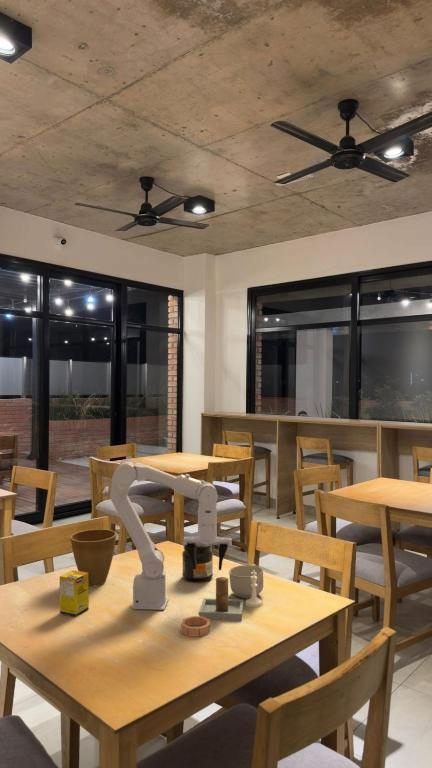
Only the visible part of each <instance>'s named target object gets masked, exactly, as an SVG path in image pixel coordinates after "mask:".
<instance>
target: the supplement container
mask: <svg viewBox="0 0 432 768" xmlns="http://www.w3.org/2000/svg"><path fill="white" fill-rule="evenodd" d="M186 547H187V545H183V550H182V554H181V556H182V574H181V575H182V578H183V579H184V581H185V580H186V581H187V582H190V583H203V582H208V581H210V580H211V579H212V578H213V575H214V572H213V569H214V567H213V566H214V565H213V563H214V562H213V558H214V557H213V556H214V552H213V550H212V545H197V547H196V561H197V567H196V569H193V564H192V560H191V557H190V555H189V553H188V551H187V548H186Z"/></svg>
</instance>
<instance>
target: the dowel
mask: <svg viewBox="0 0 432 768" xmlns="http://www.w3.org/2000/svg"><path fill="white" fill-rule="evenodd" d="M215 599H216V611H217V612H227V611H228V599H229V578H228V577H226V576H219V577H217V578H215Z"/></svg>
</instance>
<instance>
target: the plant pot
mask: <svg viewBox="0 0 432 768" xmlns="http://www.w3.org/2000/svg"><path fill="white" fill-rule="evenodd" d="M116 539H117V532H116V531H114V530H112V529H106V528H97V529H95V528H94V529H86V530H82V531H77V532H75V533H73V534H72V535H70V543H71V548H72V553H73V558H74V563H75V565H76V568H77V571H80V572H86V573H88V587H97V586H101V585H103V584H105V583H106V581H107V578H108V576H109V573H110V569H111V567H112V566H111V565H112V561H113V557H114V552H115V548H116V547H115V545H116Z"/></svg>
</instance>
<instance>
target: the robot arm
mask: <svg viewBox="0 0 432 768" xmlns="http://www.w3.org/2000/svg"><path fill="white" fill-rule="evenodd" d="M136 479H137V482H143V481H145V480H149V481H152V482H156V483H159V484H162V485H165V486H168V487H170V488H173V491H174V492H175V494H178V495H182V496H184V497H186V498H189V499H193V500H198V509H197V527H198V528H197V535H196V536H184V537H183V541H182V542H183V543H182V545H183V546H184V545H187V547H186V548H187V551H188V553H189V555H190V557H191V560H192V564H193V569H196V567H197V561H196V547H197V545H211V546H218V571H222V568H223V567H222V566H223V561H224V558H225V554H226V553H227V550H228V547H232V541H233V539H232V537H223V536H218V509H217V506H218V505H217V501H218V497H219V494H218V492H217V491H218V490H217V489H216V487H215V485H214V484H212V483H210V482H209V481H205V480H203V479H201V480H199V479H195V478H194V477H193V478H192V477H191V475H190V474H189V473H185V474H180V475H178V476H175V475H173V474H170V473H167V472H165V471H162V470H160V469H158V468H156V467H153V466H151V465H148V464H145V463H142V462H138V461H136V462H135V461H134V460H131V459H126V460H123V461H121V462H119V465H118V466H117V467H116V469H115V471H114V472H113V475H112V477H111V485H110V486H111V487H110V494H109V497H110V500H111V502H112V505H113V506H114V508H115V510H116V512H117V514H118V516H119V518H120V520H121V521H122V524H123V526H124V527H125V529H126V531H127V533H128V534H129V537H130V539H131V540H132V543H133V544H134V547H135V548H136V551H137V554H138V558H139V560H140V562H141V569H142V570H141V571H142V572H141V573H138V574H135V575H134V577H133V584H132V605H133V606H132V609H133V610H154V611H164V610H165V609H166V606H168V605H167V604H168V603H169V600H170V599H169V598H168V597H166V572H165V568H164V567H165V566H164V561H165V555H164V553H163V552H162V551H161V550H160V549H159V548H158V547H157V546H156V545H155V543H154V541H152V540H151V537H150V535H149V533H148V531H147V530H146V528H145V526H144V523H143V522H142V520H141V519H140V516H139V514H138V513H137V510H136V509H135V507H134V504H133V503H132V501H131V499H130V497H129V495H128V493H129V491H130V487H131V486H132V485H133V483H134V482H135V481H136Z"/></svg>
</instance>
